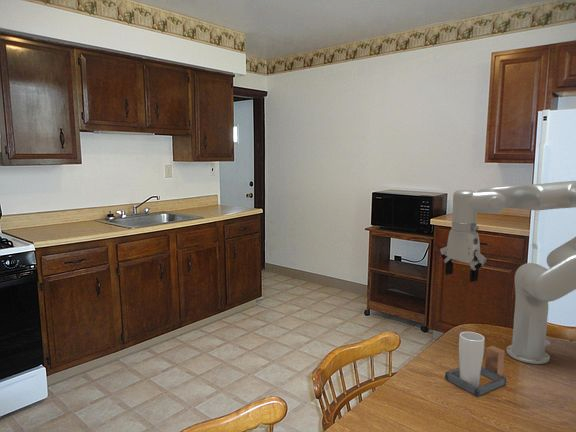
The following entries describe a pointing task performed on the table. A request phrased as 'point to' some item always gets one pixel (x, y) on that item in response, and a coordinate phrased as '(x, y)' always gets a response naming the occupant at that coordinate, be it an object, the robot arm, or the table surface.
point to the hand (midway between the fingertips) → (460, 277)
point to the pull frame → (483, 373)
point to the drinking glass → (471, 356)
